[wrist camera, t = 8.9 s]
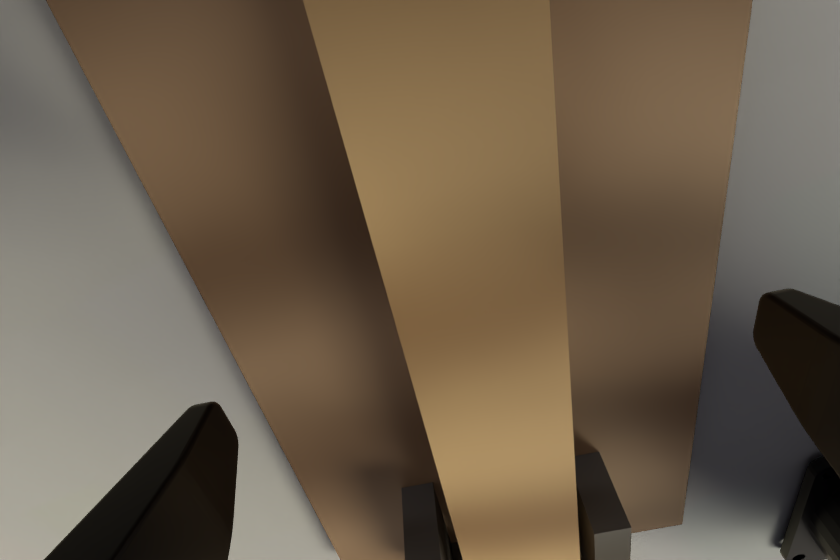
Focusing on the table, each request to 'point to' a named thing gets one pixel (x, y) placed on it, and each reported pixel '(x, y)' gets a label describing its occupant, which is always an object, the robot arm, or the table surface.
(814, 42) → the table surface
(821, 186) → the table surface
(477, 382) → the slat
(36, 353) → the table surface
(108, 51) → the endcap frame
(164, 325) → the table surface
